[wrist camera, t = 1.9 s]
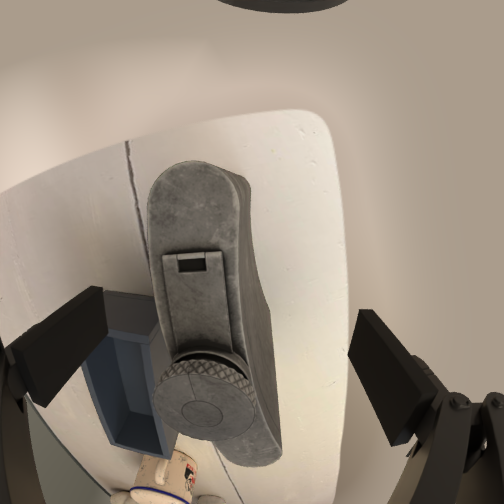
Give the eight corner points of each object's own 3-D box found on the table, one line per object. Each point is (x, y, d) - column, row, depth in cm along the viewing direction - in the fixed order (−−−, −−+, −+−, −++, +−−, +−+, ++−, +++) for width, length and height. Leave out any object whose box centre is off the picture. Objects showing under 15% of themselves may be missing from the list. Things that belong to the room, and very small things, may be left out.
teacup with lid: (198, 477, 34) (189, 531, 23) (146, 465, 34) (130, 516, 23) (201, 443, 31) (188, 510, 20) (139, 428, 31) (114, 489, 20)
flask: (234, 330, 26) (210, 501, 9) (205, 179, 23) (76, 179, 6) (271, 325, 26) (287, 498, 9) (248, 172, 23) (222, 140, 5)
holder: (105, 289, 26) (69, 319, 19) (173, 298, 26) (148, 336, 19) (128, 408, 30) (110, 444, 23) (182, 419, 30) (171, 460, 23)
